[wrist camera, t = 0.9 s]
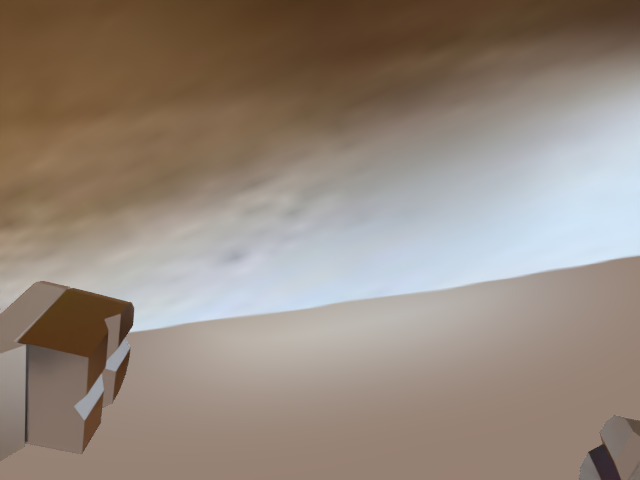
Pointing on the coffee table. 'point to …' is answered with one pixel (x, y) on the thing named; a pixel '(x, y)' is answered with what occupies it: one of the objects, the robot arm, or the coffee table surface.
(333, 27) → the coffee table surface
